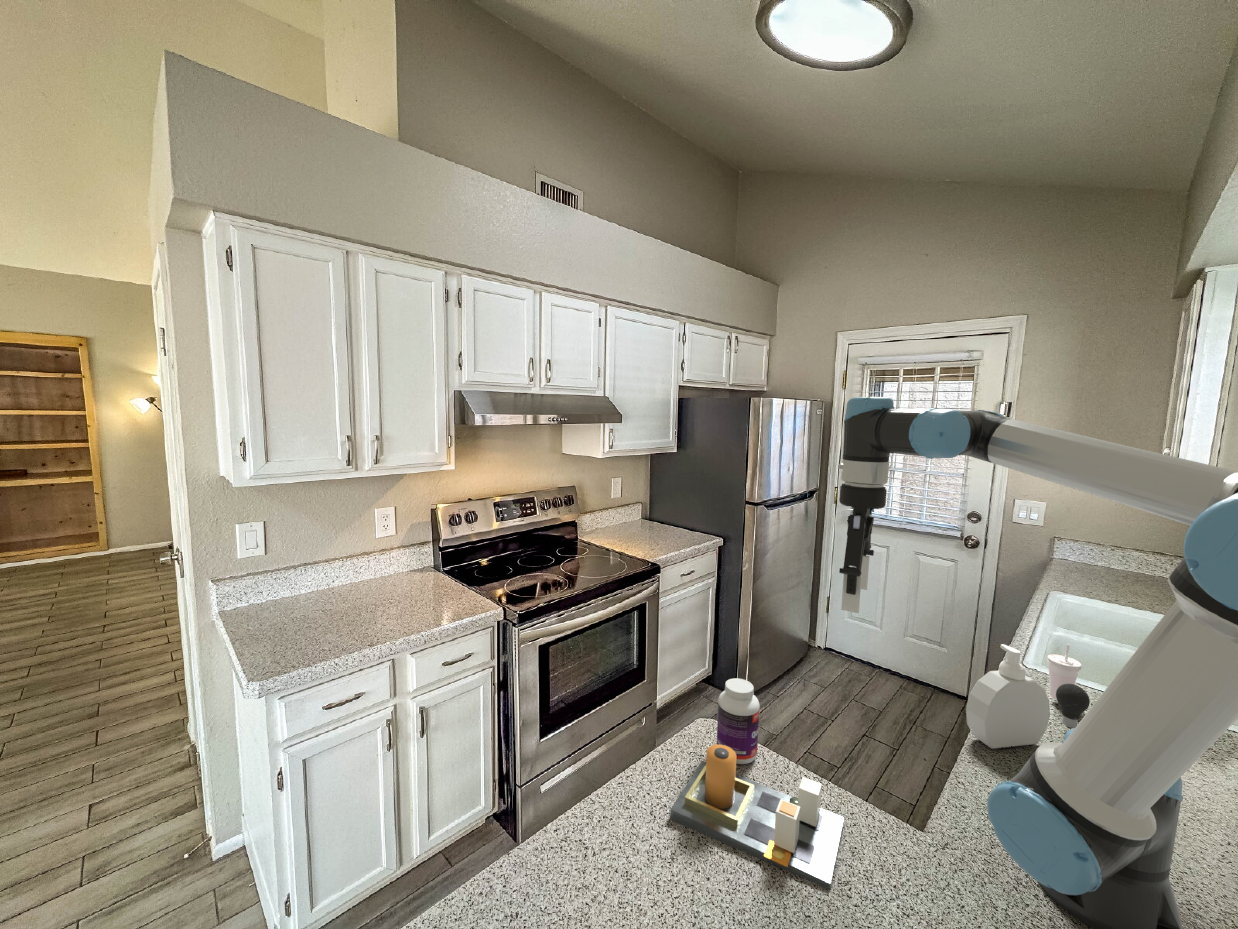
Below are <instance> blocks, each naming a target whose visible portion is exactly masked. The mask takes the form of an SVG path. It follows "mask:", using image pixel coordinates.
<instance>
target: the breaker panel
mask: <svg viewBox="0 0 1238 929" xmlns="http://www.w3.org/2000/svg"><path fill="white" fill-rule="evenodd" d="M705 781H706V761H704V760H702V761H700V763H699V765H698V767H697V768H696V770H695V771H694V773H693V774H692V776H691V777H690V779H689V780H688V782H687V783H686V784H685V786H684V788H683V790H682V791H681V792H680V794H679V796H678V797H677V799H676V800H675V801H674V803H673V805H672V806H671V808H670V811H669V812H670V813H669V815H670V816H669V820H671V821H674V822H676V823H678V824H679V825H682V826H685V827H686V828H689V829H691V830H693V831H695V832H699V833H700V834H702V835H705V836H706V837H709V838H712V839H714V840H717V841H719V842H721V843H723V844H725V845H728V846H730V847H732V848H735V849H737V850H738V851H741V852H743V853H745V854H748V855H751V856H753V857H755V858H758V859H759V860H762V861H764V862H766V863H769V864H771V865H773V866H776V867H777V868H780V869H781V870H784V871H787V872H790V873H791V874H793V875H796V876H798V877H799V878H803V879H805V880H807V881H810V882H811V883H814V884H817V885H819V886H821V887H823V888H825V889H828V890H831V886H832V881H833V876H834V872H835V868H836V862H837V858H838V853H839V850H840V845H841V839H842V835H843V830H844V826H845V817H844V816H842V815H839V814H836V813H834V812H833V811H830V810H827V809H824V808H821V807H820V815H819V819H818V822H817V826H816V827H815V826H812V825H810V824H807V823H805V822H803V821H800V822H799V837H798V842H797V845H796V849H795V852H794V853H792V852H790V851H788V850H785V849H783V848H781V847H779V846H776V845H774V834H775V818H776V810H777V807H778V805H779V802H780V799H782V800H785V801H787V802H790V803H792V804H795V805H797V806H798V796H797V797H796V796H792V795H788V794H786V793H784V792H781V791H778V790H776V789H774V788H771V787H769V786H766V785H764V784H761V783H759V782H756V781H753V780H751V779H749V778H746V777H744V776H741V775H738V774H736V777H735V797H734V803H733V805H732V806H731V807H729V808H723V809H722V808H717V807H714V806H712V805H711V804H709V803H708V802H707V800H706V798H705Z"/></svg>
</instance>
